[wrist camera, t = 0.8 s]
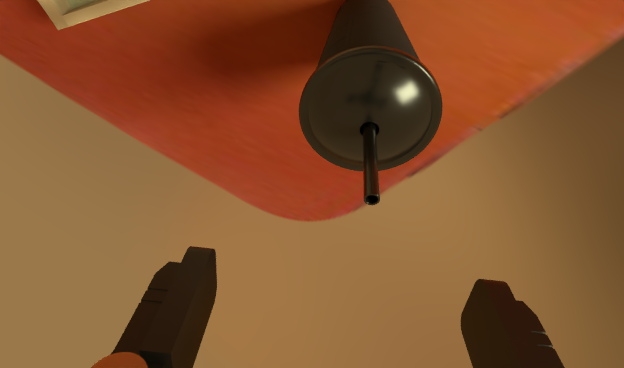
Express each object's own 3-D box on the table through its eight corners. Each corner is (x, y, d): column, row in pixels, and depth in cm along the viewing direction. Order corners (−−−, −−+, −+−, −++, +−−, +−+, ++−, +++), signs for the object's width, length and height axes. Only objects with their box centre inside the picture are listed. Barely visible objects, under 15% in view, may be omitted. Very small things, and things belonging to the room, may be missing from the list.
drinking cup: (368, 86, 35) (375, 276, 20) (299, 32, 32) (248, 204, 18) (436, 17, 31) (508, 194, 16) (362, -52, 28) (365, 82, 13)
